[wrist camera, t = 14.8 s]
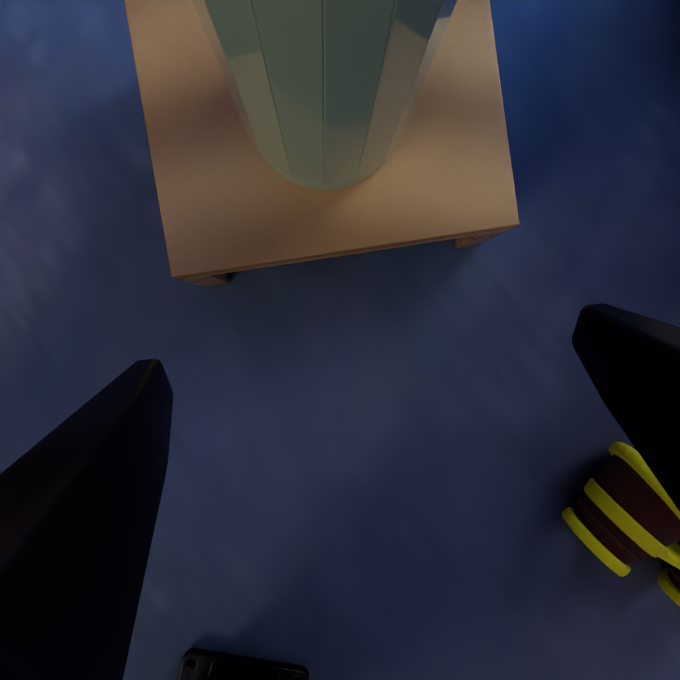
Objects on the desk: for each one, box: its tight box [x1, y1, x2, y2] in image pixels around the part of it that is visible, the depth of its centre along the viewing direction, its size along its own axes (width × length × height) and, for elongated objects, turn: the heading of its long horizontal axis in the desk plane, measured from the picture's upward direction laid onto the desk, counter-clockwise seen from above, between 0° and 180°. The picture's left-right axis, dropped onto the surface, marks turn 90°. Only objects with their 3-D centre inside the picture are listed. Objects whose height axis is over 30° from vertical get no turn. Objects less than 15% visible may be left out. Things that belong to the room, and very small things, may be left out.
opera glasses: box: [562, 441, 680, 606], centre depth 20 cm, size 10×5×5 cm, turn 60°
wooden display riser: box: [124, 0, 519, 287], centre depth 19 cm, size 11×14×5 cm
